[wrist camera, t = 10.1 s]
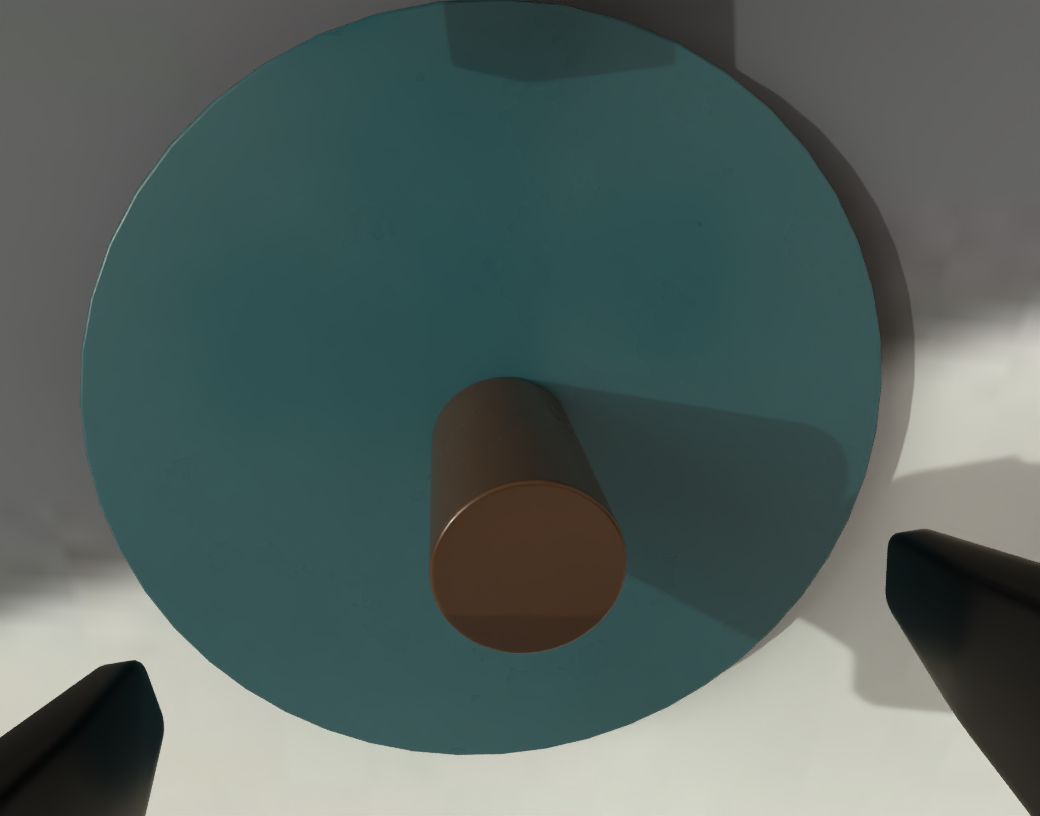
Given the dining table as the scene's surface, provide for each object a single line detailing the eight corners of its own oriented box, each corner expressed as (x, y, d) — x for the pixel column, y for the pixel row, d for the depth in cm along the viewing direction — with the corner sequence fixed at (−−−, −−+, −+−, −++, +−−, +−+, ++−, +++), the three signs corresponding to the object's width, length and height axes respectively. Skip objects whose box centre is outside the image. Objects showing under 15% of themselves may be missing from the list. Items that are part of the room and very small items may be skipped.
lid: (866, -40, 13) (1156, -160, 8) (842, 660, 18) (1007, 872, 13) (-17, 67, 12) (-359, 12, 7) (220, 769, 17) (126, 1042, 12)
